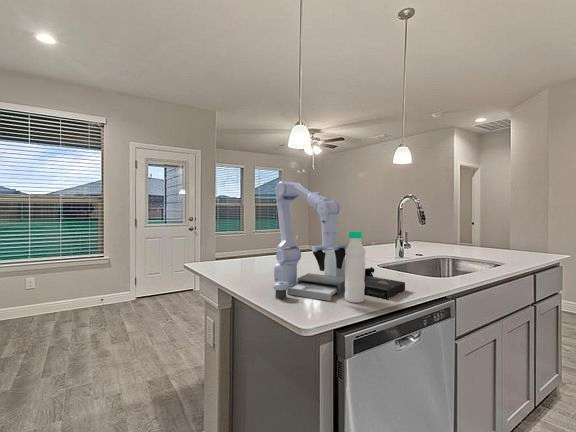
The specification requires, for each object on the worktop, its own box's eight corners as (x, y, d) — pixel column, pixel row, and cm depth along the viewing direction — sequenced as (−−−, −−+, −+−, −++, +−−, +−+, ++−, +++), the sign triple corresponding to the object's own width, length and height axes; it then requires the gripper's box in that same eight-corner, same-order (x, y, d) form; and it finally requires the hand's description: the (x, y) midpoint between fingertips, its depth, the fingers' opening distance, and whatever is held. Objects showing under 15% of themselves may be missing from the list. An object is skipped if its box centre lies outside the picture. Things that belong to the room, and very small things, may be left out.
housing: (297, 289, 130) (297, 278, 129) (308, 283, 139) (308, 273, 139) (339, 295, 121) (339, 283, 121) (348, 288, 131) (348, 278, 131)
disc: (270, 289, 116) (270, 283, 116) (278, 285, 121) (278, 280, 121) (283, 291, 114) (283, 285, 114) (291, 287, 119) (291, 282, 119)
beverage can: (373, 284, 143) (355, 280, 154) (375, 267, 144) (357, 264, 155) (358, 283, 139) (341, 278, 150) (360, 265, 140) (343, 262, 150)
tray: (287, 294, 122) (287, 287, 122) (299, 287, 131) (299, 281, 131) (330, 301, 113) (330, 294, 113) (340, 293, 123) (340, 287, 123)
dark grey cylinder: (273, 298, 117) (273, 288, 117) (278, 295, 120) (278, 286, 120) (283, 299, 115) (283, 290, 115) (288, 297, 118) (288, 287, 118)
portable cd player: (405, 291, 129) (405, 281, 129) (387, 301, 116) (387, 290, 116) (368, 284, 140) (368, 275, 139) (347, 292, 127) (347, 282, 127)
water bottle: (342, 297, 118) (343, 230, 117) (360, 297, 119) (362, 230, 118) (347, 303, 111) (348, 232, 110) (367, 303, 112) (368, 232, 111)
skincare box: (346, 282, 141) (346, 249, 140) (335, 284, 137) (336, 250, 137) (333, 278, 148) (333, 247, 147) (323, 280, 144) (323, 247, 144)
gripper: (318, 234, 111) (319, 273, 111) (351, 232, 118) (353, 269, 117) (308, 233, 117) (309, 270, 117) (340, 231, 124) (341, 266, 124)
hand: (330, 269), depth 118 cm, fingers open, 7 cm apart
